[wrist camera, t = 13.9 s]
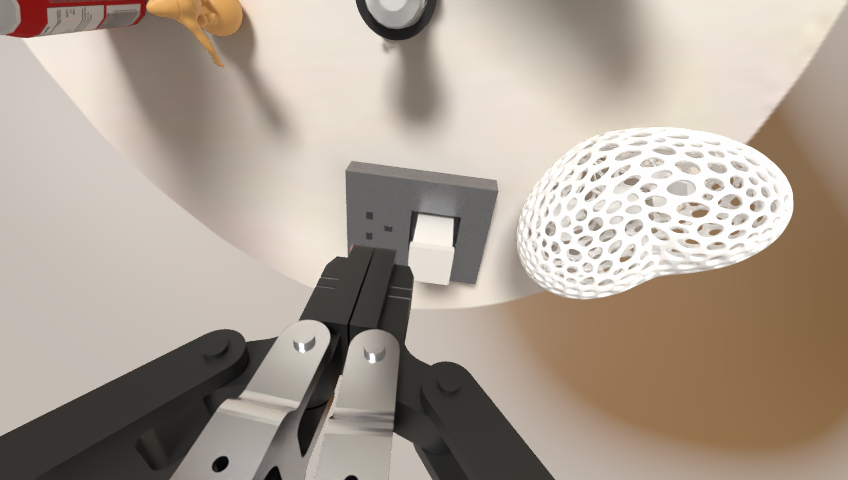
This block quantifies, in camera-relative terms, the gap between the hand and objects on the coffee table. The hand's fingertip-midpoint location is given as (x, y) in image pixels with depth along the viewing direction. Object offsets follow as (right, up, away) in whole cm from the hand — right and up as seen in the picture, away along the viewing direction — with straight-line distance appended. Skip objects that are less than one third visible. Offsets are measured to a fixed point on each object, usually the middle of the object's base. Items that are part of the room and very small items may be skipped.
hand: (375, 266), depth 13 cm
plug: (+3, +3, +30) cm, 31 cm away
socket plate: (+1, +3, +31) cm, 31 cm away
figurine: (-15, +22, +20) cm, 33 cm away
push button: (0, +22, +18) cm, 28 cm away
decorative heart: (+19, +9, +25) cm, 32 cm away
